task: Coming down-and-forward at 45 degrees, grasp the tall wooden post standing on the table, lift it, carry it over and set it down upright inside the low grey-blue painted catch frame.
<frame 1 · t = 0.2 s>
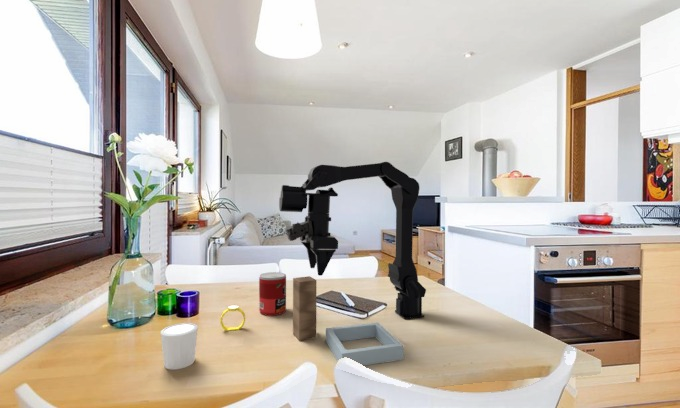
hand: (316, 271, 87), 14 cm above the table, tool pointing down, fingers open, 9 cm apart
canned food: (272, 312, 98), on the table
white cup: (179, 363, 67), on the table
tall wooden post: (304, 335, 81), on the table
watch: (233, 330, 85), on the table
catch frame: (362, 349, 73), on the table
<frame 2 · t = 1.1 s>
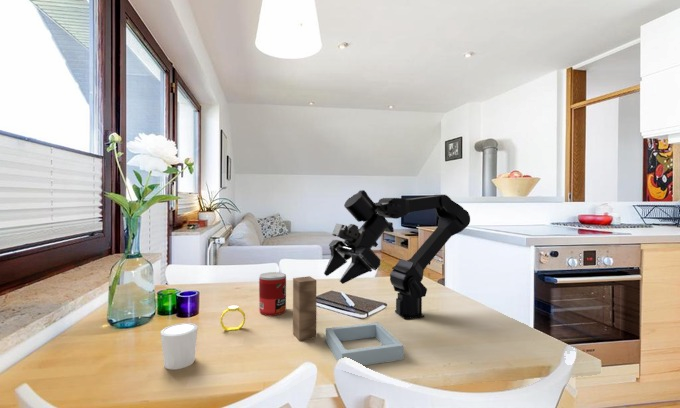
hand: (332, 278, 84), 13 cm above the table, tool tilted 45°, fingers open, 9 cm apart
nothing on the table moved.
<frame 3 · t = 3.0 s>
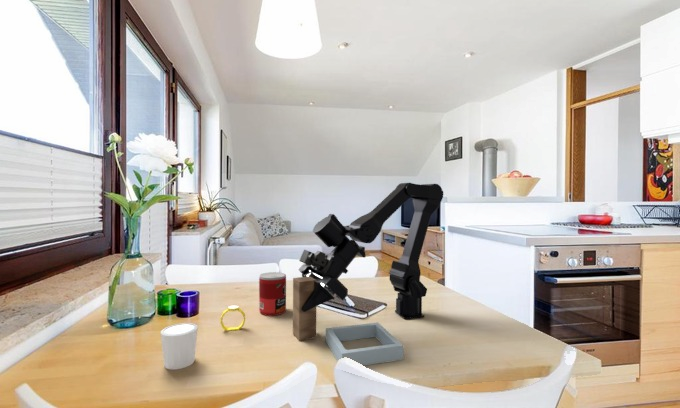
hand: (299, 307, 80), 7 cm above the table, tool tilted 45°, fingers closed on tall wooden post, 4 cm apart
tall wooden post: (304, 335, 81), on the table, touching gripper
everything else where it was.
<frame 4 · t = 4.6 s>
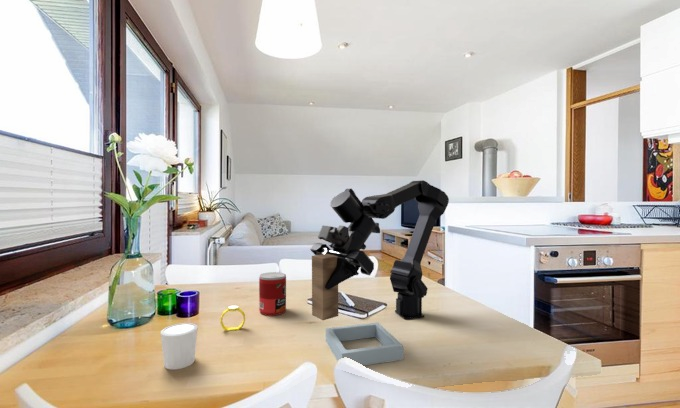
hand: (320, 286, 76), 13 cm above the table, tool tilted 45°, fingers closed on tall wooden post, 4 cm apart
tall wooden post: (325, 315, 77), point 6 cm above the table, touching gripper
everything else where it was.
when the fingers open (8 cm above the table, at t = 6.6 s): tall wooden post drops 1 cm, resting in catch frame.
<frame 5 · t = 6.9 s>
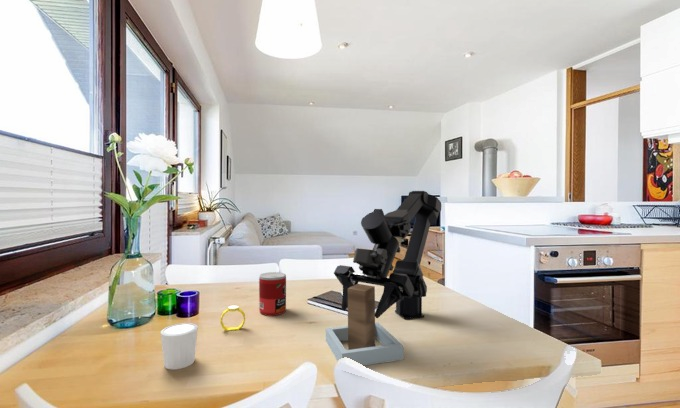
hand: (359, 313, 72), 9 cm above the table, tool tilted 45°, fingers open, 8 cm apart
tall wooden post: (361, 349, 73), resting in catch frame
everything else where it was.
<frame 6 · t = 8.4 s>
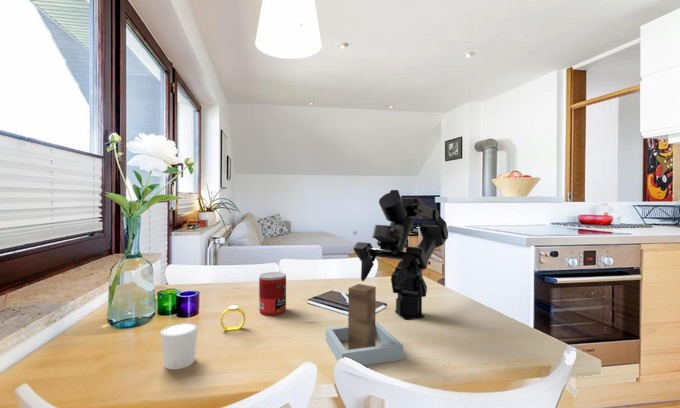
hand: (378, 283, 80), 13 cm above the table, tool tilted 45°, fingers open, 9 cm apart
nothing on the table moved.
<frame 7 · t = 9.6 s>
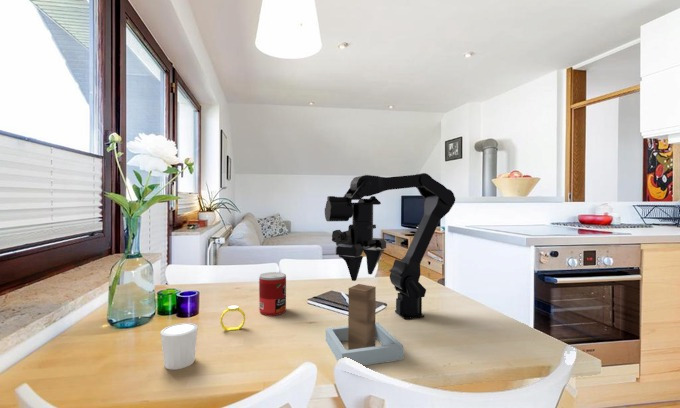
hand: (362, 277, 91), 12 cm above the table, tool pointing down, fingers open, 9 cm apart
nothing on the table moved.
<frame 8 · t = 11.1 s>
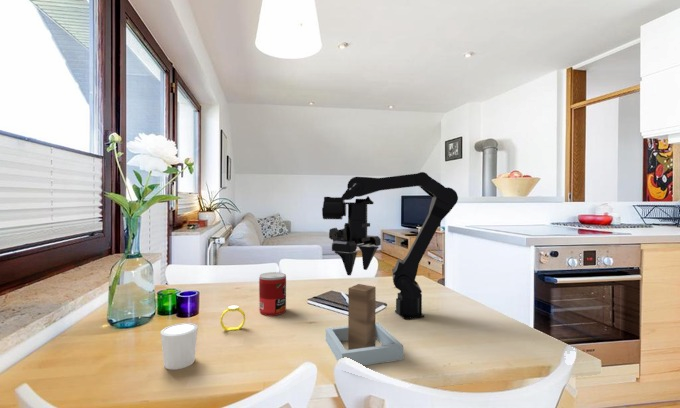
hand: (357, 272, 97), 12 cm above the table, tool pointing down, fingers open, 9 cm apart
nothing on the table moved.
at the end: tall wooden post 0.1 cm from the catch frame (horizontally); tall wooden post tilted 0°; the gripper is holding nothing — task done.
